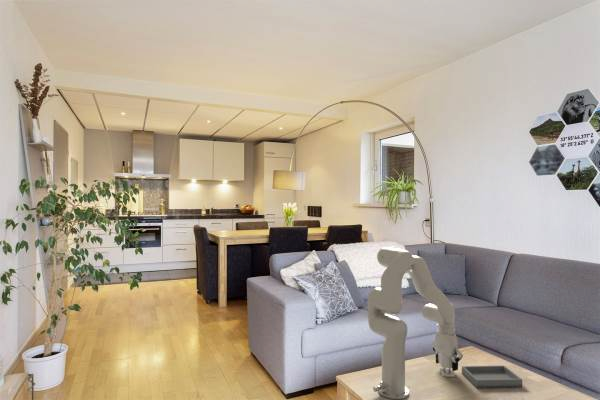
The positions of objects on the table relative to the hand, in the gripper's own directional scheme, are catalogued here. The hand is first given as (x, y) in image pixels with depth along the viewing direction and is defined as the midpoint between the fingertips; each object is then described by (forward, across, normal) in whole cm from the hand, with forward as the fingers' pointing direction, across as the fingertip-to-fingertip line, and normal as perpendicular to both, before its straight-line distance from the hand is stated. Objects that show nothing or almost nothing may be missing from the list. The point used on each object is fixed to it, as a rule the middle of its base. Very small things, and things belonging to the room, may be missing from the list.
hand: (446, 366), depth 180 cm
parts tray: (+3, +15, +11) cm, 19 cm away
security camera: (+3, 0, 0) cm, 3 cm away
